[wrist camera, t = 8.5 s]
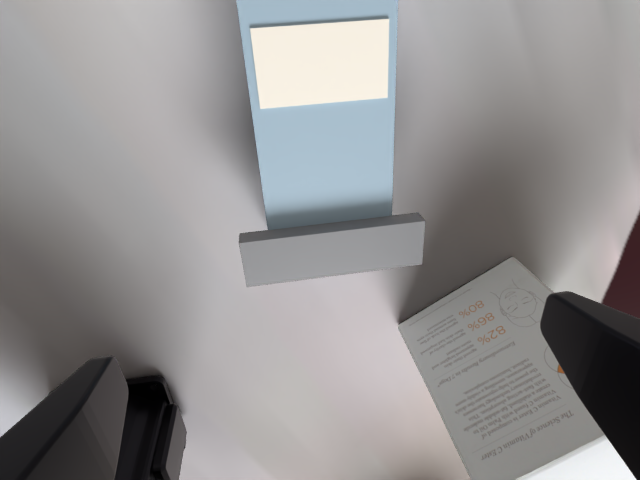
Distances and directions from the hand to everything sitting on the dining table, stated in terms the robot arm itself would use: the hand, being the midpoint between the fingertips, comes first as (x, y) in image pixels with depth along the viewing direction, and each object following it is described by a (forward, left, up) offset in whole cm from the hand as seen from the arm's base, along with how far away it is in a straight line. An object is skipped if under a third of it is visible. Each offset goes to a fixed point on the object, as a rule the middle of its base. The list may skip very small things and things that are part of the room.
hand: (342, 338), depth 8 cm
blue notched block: (+1, +3, -12) cm, 12 cm away
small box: (+10, -11, -12) cm, 19 cm away
